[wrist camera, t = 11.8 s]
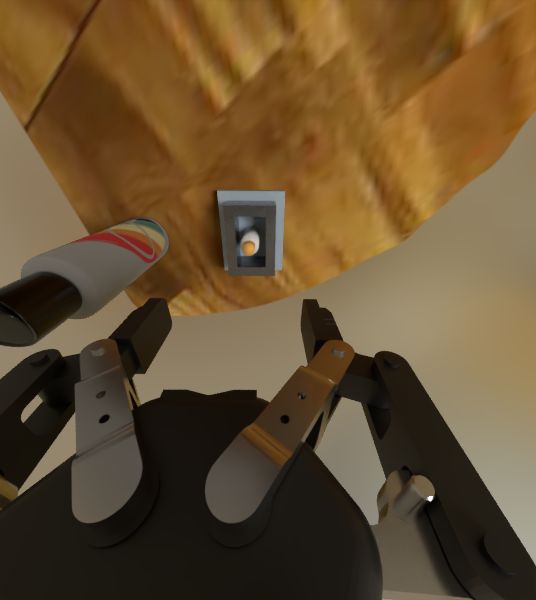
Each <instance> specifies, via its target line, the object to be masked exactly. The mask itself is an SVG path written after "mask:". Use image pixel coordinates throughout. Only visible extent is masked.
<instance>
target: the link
mask: <svg viewBox="0 0 536 600" xmlns="http://www.w3.org/2000/svg"><path fill="white" fill-rule="evenodd" d="M223 216H224V227H225V237H226V248H227V259H228V270H229V276H275V241H276V202H275V201H227V202H226V203H225V204H224V205H223ZM239 217H266V256H241V251H240V234H239Z"/></svg>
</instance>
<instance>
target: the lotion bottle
mask: <svg viewBox="0 0 536 600" xmlns="http://www.w3.org/2000/svg"><path fill="white" fill-rule="evenodd" d="M168 247H169V239H168V236H167V233H166V232H165V230H164V229H163V227H162V226H161V225H160V224H158V223H157V222H155V221H154V220H152V219H149V218H135V219H132V220H129V221H126V222H124V223H121V224H118V225H116V226H113V227H110V228H108V229H105V230H103V231H100V232H97V233H95V234H92V235H89V236H87V237H84V238H82V239H79V240H76V241H74V242H71V243H69V244H66V245H63V246H61V247H58V248H56V249H53V250H50V251H48V252H45V253H43V254H40V255H38V256H36V257H33V258H31V259H30V260H28V261H27V262H26V263H25V264H24V266H23V267H22V270H21V279H20V280H17V281H15V282H13V283H11V284H8V285H6V286H4V287H2V288H0V345H3V346H10V347H25V346H30V345H33V344H35V343H37V342H38V341H40V340H41V339H42V338H44V337H45V336H46V335H48V334H49V333H50V332H51V331H53V330H54V329H55V328H57V327H58V326H59V325H60V324H62V323H63V322H64V321H66V320H67V319H68V318H69V319H84V318H87V317H90V316H92V315H93V314H95V313H96V312H98V311H99V310H100V309H101V308H103V307H104V306H105V305H106V304H107V303H109V302H110V301H111V300H112V299H113V298H114V297H116V296H117V295H118V294H119V293H120V292H122V291H123V290H124V289H125V288H126V287H128V286H129V285H130V284H131V283H132V282H133V281H135V280H136V279H137V278H138V277H139V276H140V275H142V274H143V273H144V272H145V271H146V270H148V269H149V268H150V267H151V266H152V265H153V264H155V263H156V262H157V261H158V260H159V259H160V258H162V257H163V256H164V255H165V253H166V252H167V250H168Z"/></svg>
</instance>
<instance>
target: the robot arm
mask: <svg viewBox="0 0 536 600" xmlns="http://www.w3.org/2000/svg"><path fill="white" fill-rule="evenodd" d="M171 327H172V320H171V316H170V312H169V308H168V305H167V301H166V299H164V298H150V299H149V300H148V301H147V302H146V303H145V304H144V305H143V306H141V307H139V308H138V309H136V310H134V311H133V312H132V313H131V314H130V315H129V316H128V317H127V319H125V320H124V321H123V323H122V324H121V325H120V326H119V327H118V328H117V329H116V330H115V331H114V332H113V333H112V335H111V336H110V337H109V338H108V339H102V340H98V341H95V342H93V343H91V344H89V345H87V346H86V347H85V348H84V349H83V350H82V351H81V353H80V354H75V355H70V356H65V357H62V355H61V353H60V352H59V351H58V350H55V349H48V350H43V351H40V352H37V353H34V354H32V355H30V356H29V357H27V358H25V359H24V360H23V361H21V362H20V363H19V364H18V365H17V366H15V367H14V368H13V369H12V370H11V371H10V372H8V373H7V374H6V375H5V376H4V377H3V378H1V379H0V600H382V599H393V600H536V566H535V564H534V562H533V560H532V559H531V557H530V555H529V554H528V552H527V551H526V549H525V547H524V546H523V544H522V543H521V541H520V539H519V538H518V537H517V535H516V533H515V532H514V530H513V528H512V527H511V526H510V524H509V522H508V520H507V519H506V517H505V516H504V514H503V513H502V511H501V509H500V508H499V506H498V505H497V503H496V501H495V500H494V498H493V497H492V495H491V494H490V492H489V490H488V489H487V487H486V486H485V484H484V483H483V481H482V479H481V478H480V476H479V474H478V473H477V471H476V470H475V468H474V467H473V465H472V463H471V462H470V460H469V459H468V457H467V455H466V454H465V452H464V451H463V449H462V448H461V446H460V444H459V443H458V441H457V440H456V438H455V436H454V435H453V433H452V432H451V430H450V429H449V427H448V425H447V424H446V422H445V421H444V419H443V417H442V416H441V414H440V413H439V411H438V409H437V408H436V406H435V405H434V403H433V402H432V400H431V398H430V397H429V395H428V394H427V392H426V390H425V389H424V387H423V386H422V384H421V383H420V381H419V380H418V378H417V376H416V375H415V373H414V371H413V370H412V368H411V367H410V365H409V364H408V362H407V361H406V360H405V359H404V358H403V357H401V356H400V355H398V354H395V353H392V352H389V351H380V352H378V353H376V354H375V357H374V358H372V357H368V356H364V355H360V354H357V353H355V352H354V349H353V348H352V347H351V346H350V345H349V344H347V343H346V342H344V341H343V339H342V336H341V334H340V332H339V329H338V327H337V325H336V322H335V321H334V318H333V315H332V313H331V312H330V311H329V310H328V309H326V308H320V307H319V304H318V302H317V300H316V299H304V300H303V305H302V316H301V333H302V338H303V343H304V348H305V353H306V358H307V362H308V365H307V366H306V367H304V366H300V367H299V368H298V369H297V370H296V372H295V373H294V374H293V375H292V377H291V378H290V379H289V380H288V381H287V383H286V384H285V385H284V386H283V387H282V389H281V390H280V391H279V392H278V393H277V395H276V396H275V397H274V398H273V400H272V401H271V402H268V401H266V400H264V399H261V398H257V390H231V391H227V392H222V393H217V394H213V395H205V394H201V393H197V392H193V391H189V390H163V392H162V394H161V396H160V398H157V399H154V400H151V401H148V402H146V403H144V404H142V405H141V403H140V400H139V397H138V393H137V390H136V386H135V383H134V380H133V378H132V377H133V376H134V375H135V374H145V373H146V371H147V369H148V368H149V366H150V364H151V363H152V361H153V359H154V358H155V356H156V354H157V352H158V351H159V349H160V347H161V346H162V344H163V342H164V341H165V339H166V337H167V335H168V334H169V332H170V330H171ZM37 394H38V395H39V397H40V398H41V399H42V400H43V402H42V403H41V404H40V405H39V406H38V407H37V408H36V410H35V411H34V412H33V413H32V414H31V415H30V416H29V417H28V419H27V420H26V421H25V422H24V423H23V422H22V421H21V414H22V411H23V410H24V408H25V407H26V406H27V405H28V404H29V403H30V402H31V401H32V400H33V399H34V397H35V396H36V395H37ZM342 397H345V398H348V399H351V400H355V401H358V402H361V404H362V407H363V410H364V413H365V416H366V419H367V422H368V425H369V428H370V431H371V434H372V437H373V440H374V444H375V447H376V450H377V453H378V456H379V459H380V462H381V465H382V468H383V471H384V474H385V477H386V481H385V483H384V484H383V486H382V487H381V489H380V490H379V492H378V495H377V506H378V512H379V520H378V524H376V525H369V523H368V521H367V519H366V517H365V515H364V514H363V512H362V511H361V509H360V508H359V506H358V505H357V504H356V502H354V500H353V499H352V498H351V497H350V495H349V494H348V493H347V492H346V490H345V489H344V488H343V487H342V485H341V484H340V483H339V482H338V481H337V479H336V478H335V477H334V476H333V474H332V473H331V472H330V471H329V470H328V468H327V467H326V466H325V465H324V463H323V462H322V461H321V460H320V458H319V457H318V456H317V455H316V454H315V451H316V449H317V447H318V445H319V443H320V441H321V439H322V437H323V434H324V432H325V429H326V427H327V424H328V423H329V421H330V419H331V417H332V415H333V413H334V411H335V410H336V407H337V406H338V404H339V402H340V400H341V398H342ZM74 413H75V415H76V416H75V419H76V453H75V454H74V455H73V456H71V457H70V458H69V459H67V460H66V461H65V462H63V463H62V464H61V465H59V466H58V467H57V468H55V469H54V470H53V471H51V472H50V473H49V474H47V475H46V476H45V477H43V478H42V479H41V480H39V481H38V482H37V483H35V484H34V485H33V486H31V487H30V488H29V489H27V490H26V491H25V492H24V493H22V494H21V495H20V496H18V491H19V489H20V488H21V487H22V485H23V484H24V482H25V481H26V480H27V478H28V477H29V475H30V474H31V473H32V471H33V470H34V468H35V467H36V466H37V464H38V463H39V461H40V460H41V459H42V457H43V456H44V455H45V453H46V452H47V450H48V449H49V448H50V446H51V445H52V443H53V442H54V440H55V439H56V438H57V436H58V435H59V433H60V432H61V431H62V429H63V428H64V427H65V425H66V424H67V422H68V421H69V420H70V418H71V417H72V415H73V414H74ZM17 496H18V497H17Z"/></svg>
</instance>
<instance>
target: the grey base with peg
mask: <svg viewBox="0 0 536 600" xmlns="http://www.w3.org/2000/svg"><path fill="white" fill-rule="evenodd" d="M217 197H218V207H219V217H220V227H221V237H222V247H223V257H224V267H225V270H228V259H227V248H226V237H225V227H224V216H223V205H224V204H225V203H226V202H227V201H275V202H276V241H275V270H282V254H283V230H284V206H285V191H284V190H218V191H217ZM239 234H240V251H241V256H266V217H239Z"/></svg>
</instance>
